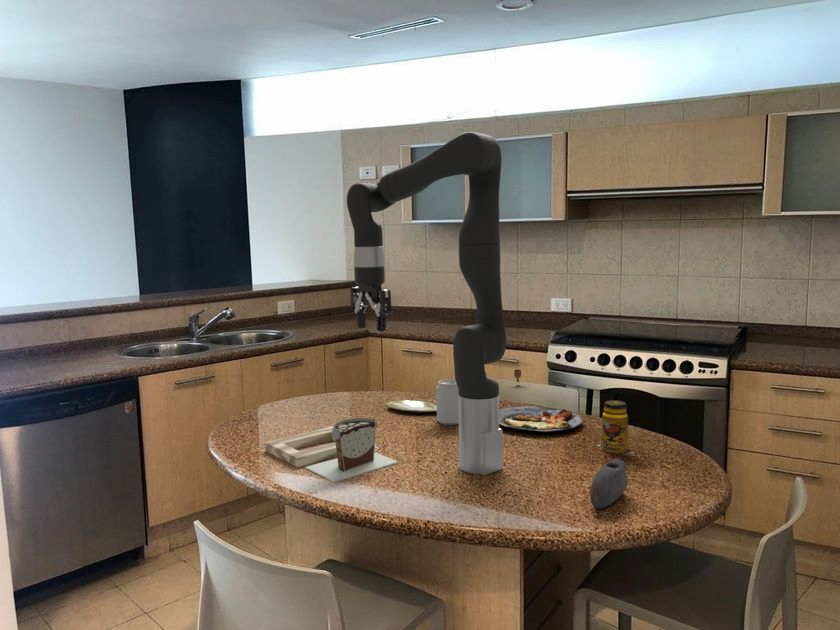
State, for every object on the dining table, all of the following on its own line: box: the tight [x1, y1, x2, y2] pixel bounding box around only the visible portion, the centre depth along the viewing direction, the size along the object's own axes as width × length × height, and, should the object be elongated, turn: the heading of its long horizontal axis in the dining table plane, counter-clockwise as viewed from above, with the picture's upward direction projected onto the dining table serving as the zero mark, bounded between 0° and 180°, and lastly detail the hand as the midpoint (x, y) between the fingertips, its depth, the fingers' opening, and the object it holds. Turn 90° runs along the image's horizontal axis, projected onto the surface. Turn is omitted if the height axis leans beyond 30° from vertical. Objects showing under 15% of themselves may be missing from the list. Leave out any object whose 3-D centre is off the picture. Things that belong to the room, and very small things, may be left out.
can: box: [435, 379, 459, 426], centre depth 192 cm, size 8×8×12 cm
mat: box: [305, 451, 399, 483], centre depth 158 cm, size 12×18×1 cm, turn 130°
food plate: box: [499, 405, 584, 433], centre depth 189 cm, size 25×23×4 cm
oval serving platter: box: [386, 399, 437, 414], centre depth 202 cm, size 35×11×2 cm, turn 61°
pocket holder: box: [265, 425, 337, 468], centre depth 170 cm, size 16×20×2 cm
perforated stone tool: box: [589, 458, 629, 509], centre depth 135 cm, size 15×5×7 cm, turn 144°
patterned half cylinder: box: [332, 417, 378, 472], centre depth 158 cm, size 12×6×10 cm, turn 138°
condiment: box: [596, 400, 635, 454], centre depth 166 cm, size 7×8×12 cm
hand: (371, 329), depth 169 cm, fingers open, 8 cm apart
